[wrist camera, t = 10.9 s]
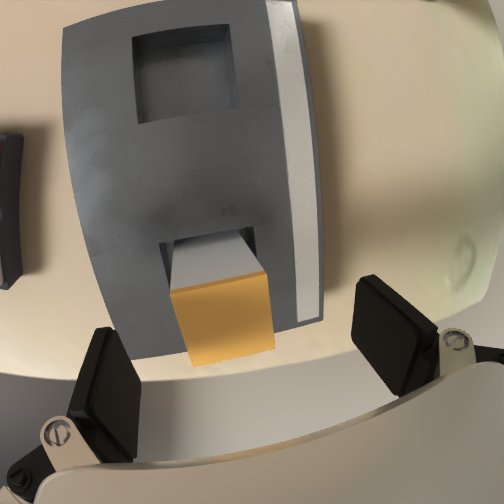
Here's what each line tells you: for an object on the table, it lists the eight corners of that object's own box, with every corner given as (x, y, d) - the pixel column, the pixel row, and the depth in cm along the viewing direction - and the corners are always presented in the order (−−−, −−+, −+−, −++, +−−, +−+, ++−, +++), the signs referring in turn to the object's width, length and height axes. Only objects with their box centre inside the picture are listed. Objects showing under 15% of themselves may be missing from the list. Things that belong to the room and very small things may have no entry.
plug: (233, 225, 19) (267, 274, 12) (242, 279, 20) (275, 348, 13) (174, 237, 18) (169, 294, 11) (187, 290, 20) (193, 367, 12)
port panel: (278, 17, 15) (296, -4, 11) (304, 297, 23) (323, 320, 19) (80, 45, 12) (62, 27, 9) (134, 331, 20) (128, 361, 17)
